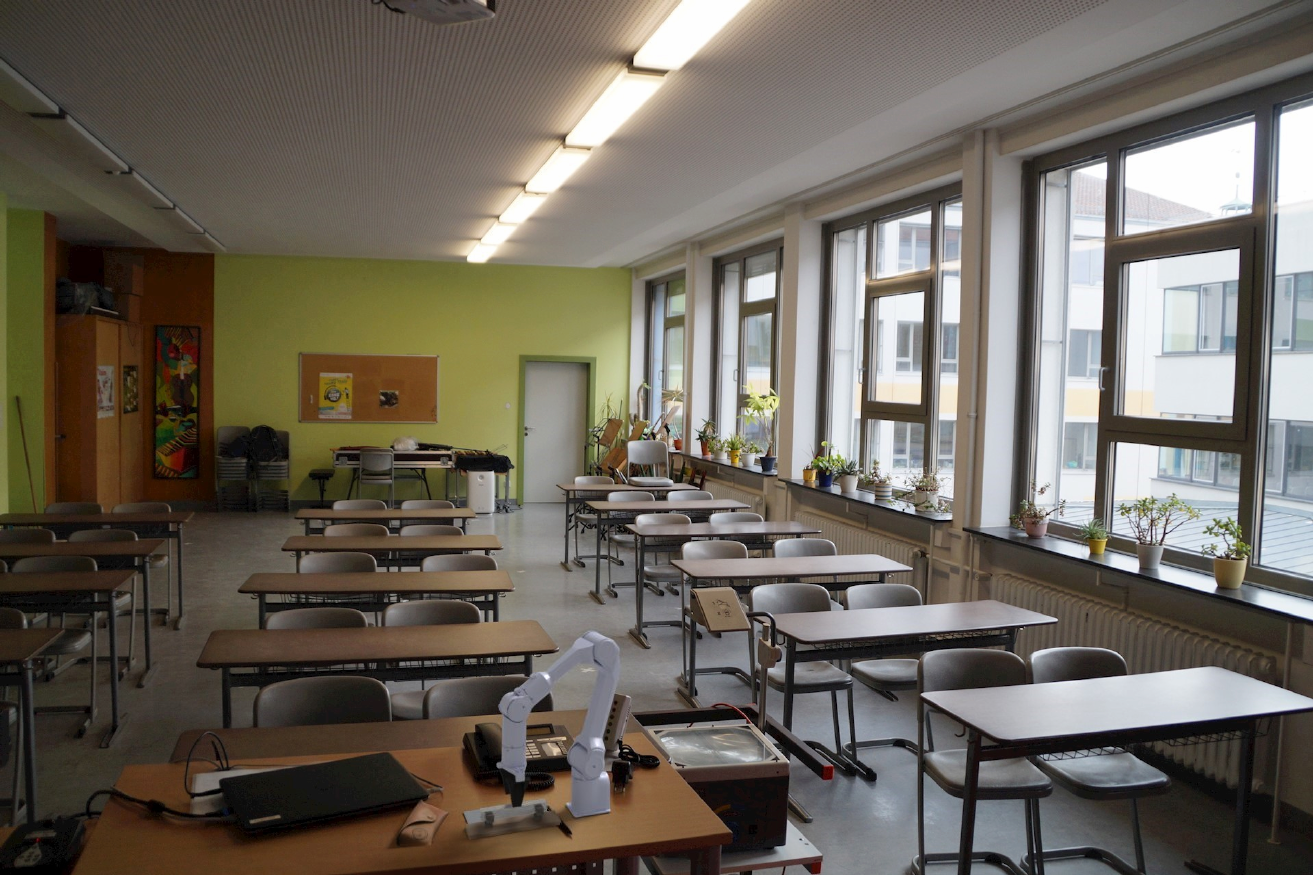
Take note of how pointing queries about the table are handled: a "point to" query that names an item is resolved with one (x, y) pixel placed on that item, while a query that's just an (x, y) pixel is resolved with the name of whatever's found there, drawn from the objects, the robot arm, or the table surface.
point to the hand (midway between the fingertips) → (513, 800)
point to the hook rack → (512, 824)
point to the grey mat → (477, 816)
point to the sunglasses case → (421, 825)
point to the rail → (512, 809)
